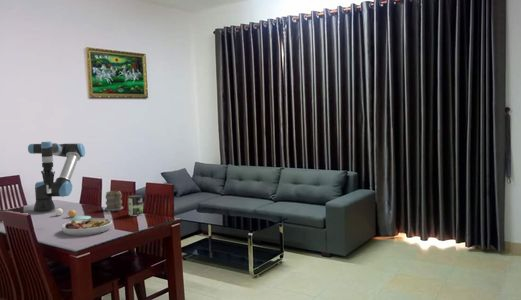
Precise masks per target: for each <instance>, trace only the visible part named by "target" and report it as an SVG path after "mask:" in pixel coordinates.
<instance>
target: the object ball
mask: <svg viewBox="0 0 521 300" xmlns="http://www.w3.org/2000/svg"><path fill="white" fill-rule="evenodd" d="M76 215H77V211H76V210H75V209H70V210H69V211H68V212H67V216H68V217H69V218H73V217H76Z"/></svg>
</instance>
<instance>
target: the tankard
mask: <svg viewBox="0 0 521 300" xmlns="http://www.w3.org/2000/svg"><path fill="white" fill-rule="evenodd" d="M122 198H123V194H122V192H121V191H120V190H110V191H107V192H106V194H105V199H106V201H105V205H106V207H105V208H104V209H105V211H106V212H107V211H108V212H115V211H122V210H123V209H124V206H123V205H122V204H123V200H122Z"/></svg>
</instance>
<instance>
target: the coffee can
mask: <svg viewBox="0 0 521 300" xmlns="http://www.w3.org/2000/svg"><path fill="white" fill-rule="evenodd" d="M127 199H128V200H127V202H128V216H129V215H130V216H129V217H137V215H139V216H142V214H144V213H143V212H144V211H143V209H144V207H143V205H144V204H143V195H142V194H131V195H128V196H127Z"/></svg>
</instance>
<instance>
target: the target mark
mask: <svg viewBox="0 0 521 300" xmlns="http://www.w3.org/2000/svg"><path fill="white" fill-rule="evenodd" d="M88 218H92V216H91V215H79V216H78V215H77V216H74V217H70V218H69V219H70V221H73V220H80V219H88Z"/></svg>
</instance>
